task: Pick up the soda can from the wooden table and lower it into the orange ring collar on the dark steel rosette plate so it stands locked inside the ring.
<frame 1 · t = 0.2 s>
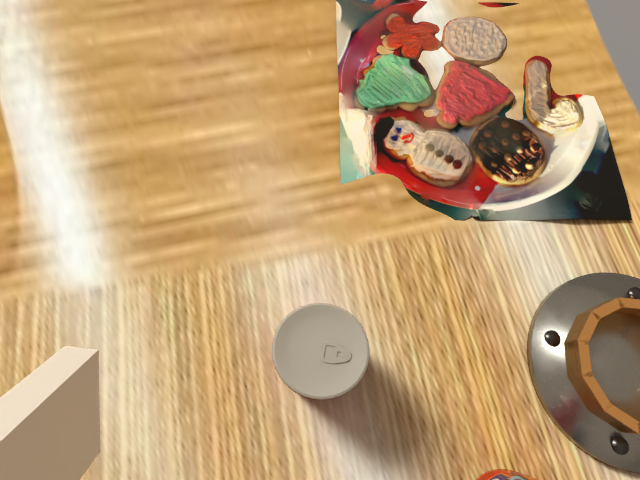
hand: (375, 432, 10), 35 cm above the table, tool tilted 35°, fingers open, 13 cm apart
canned food: (317, 359, 45), on the table
rosette: (621, 366, 45), on the table
platter: (465, 104, 57), on the table
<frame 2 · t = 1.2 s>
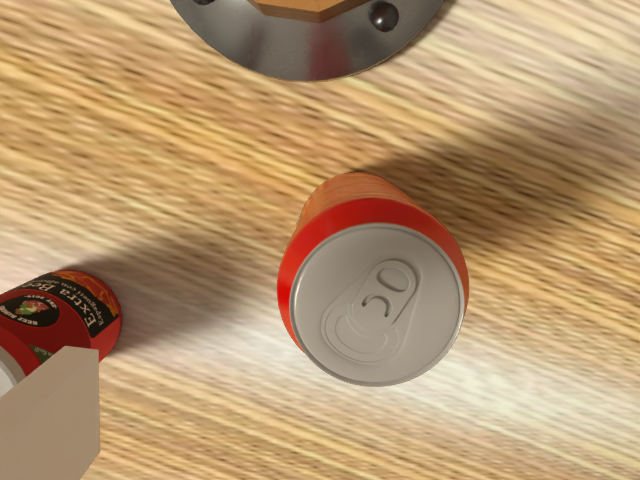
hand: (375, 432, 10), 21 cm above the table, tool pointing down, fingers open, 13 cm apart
canned food: (77, 314, 33), on the table
soda can: (355, 225, 30), on the table
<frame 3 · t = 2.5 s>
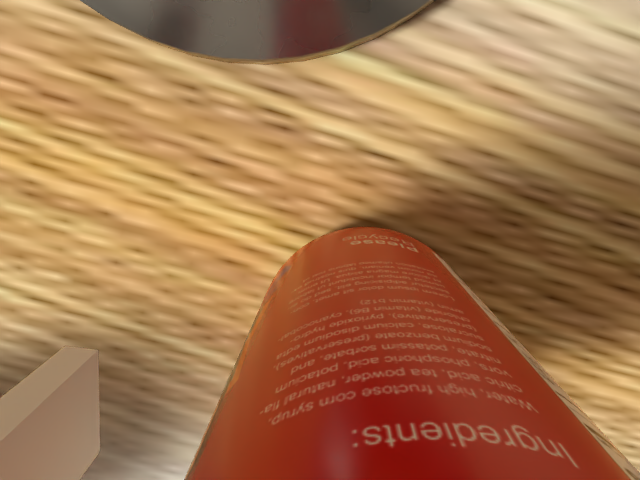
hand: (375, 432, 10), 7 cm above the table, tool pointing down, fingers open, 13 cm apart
soda can: (361, 313, 17), on the table
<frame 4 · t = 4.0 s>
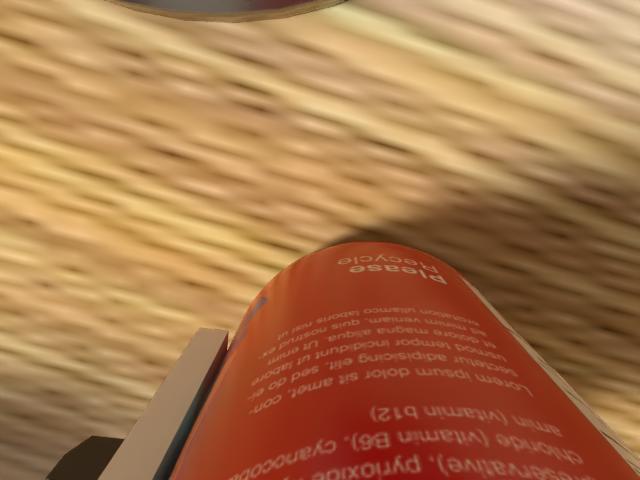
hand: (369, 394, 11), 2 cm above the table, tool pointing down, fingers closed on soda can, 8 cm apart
soda can: (363, 349, 14), on the table, touching gripper
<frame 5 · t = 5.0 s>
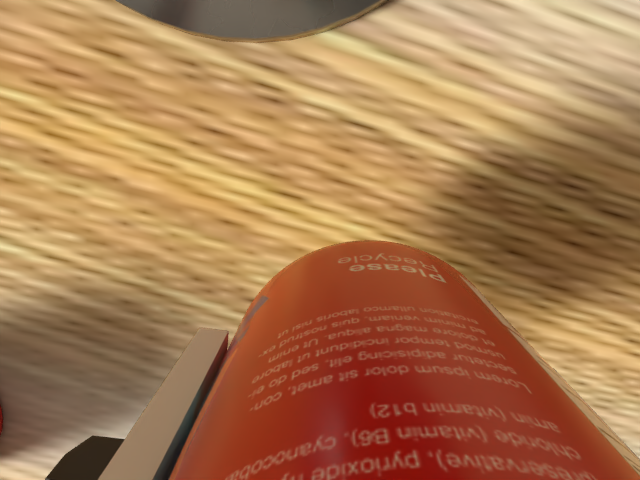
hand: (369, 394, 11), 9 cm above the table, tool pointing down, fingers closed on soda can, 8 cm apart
soda can: (363, 348, 14), point 6 cm above the table, touching gripper
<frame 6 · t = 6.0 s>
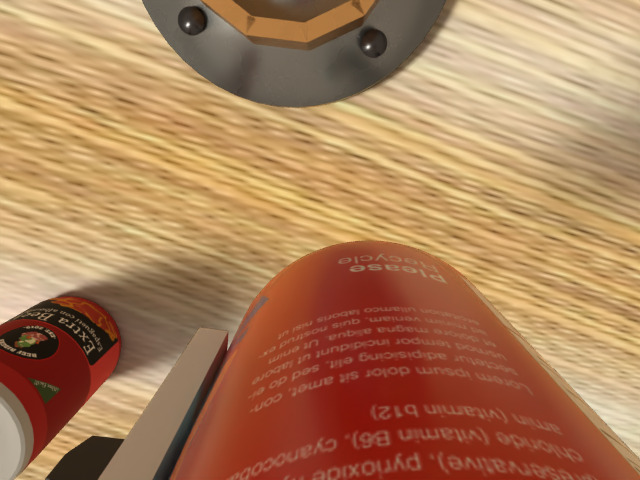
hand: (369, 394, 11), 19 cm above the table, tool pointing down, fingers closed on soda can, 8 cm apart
canned food: (76, 338, 33), on the table
soda can: (363, 348, 14), point 17 cm above the table, touching gripper
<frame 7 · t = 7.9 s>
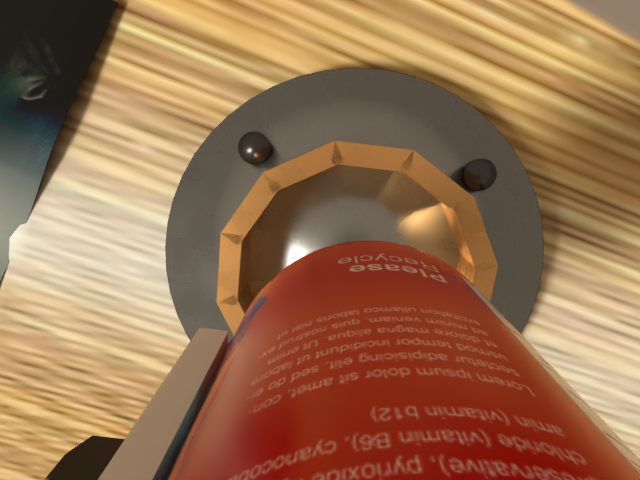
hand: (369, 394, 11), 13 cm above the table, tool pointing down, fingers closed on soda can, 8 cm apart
rosette: (351, 263, 24), on the table
soda can: (363, 348, 14), point 10 cm above the table, touching gripper
when the fingers open (6 cm above the table, at t = 9.9 s): soda can drops 2 cm, resting on rosette.
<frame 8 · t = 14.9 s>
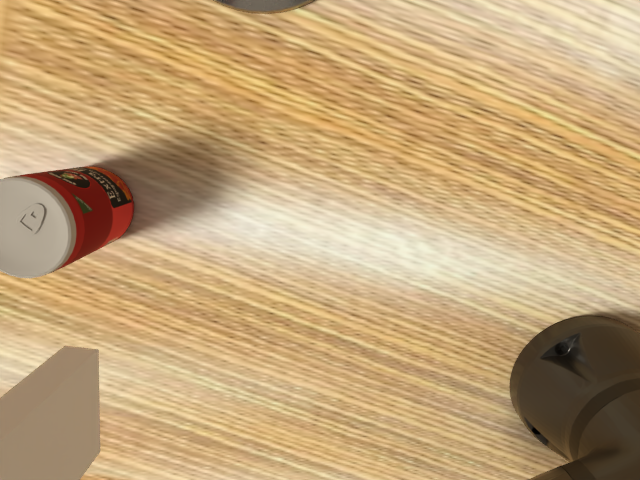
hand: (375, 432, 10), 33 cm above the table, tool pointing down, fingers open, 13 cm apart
canned food: (99, 204, 42), on the table
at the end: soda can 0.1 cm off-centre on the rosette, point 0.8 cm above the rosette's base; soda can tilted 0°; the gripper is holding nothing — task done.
